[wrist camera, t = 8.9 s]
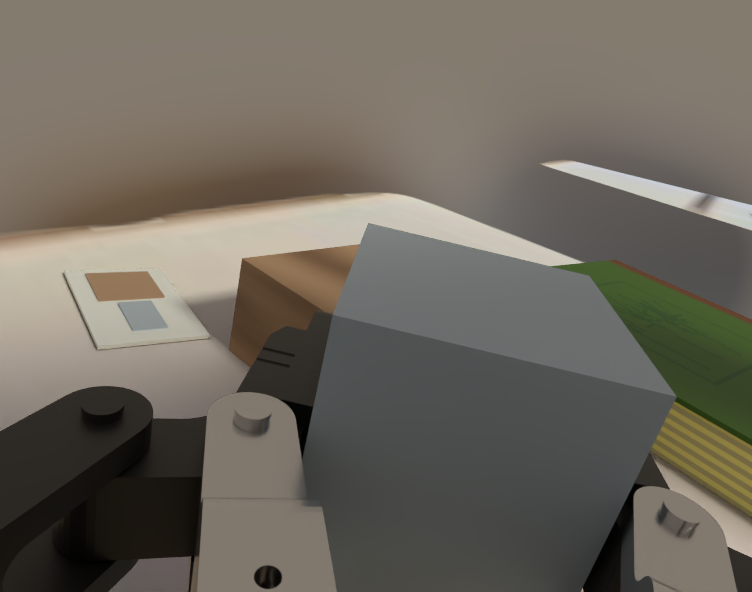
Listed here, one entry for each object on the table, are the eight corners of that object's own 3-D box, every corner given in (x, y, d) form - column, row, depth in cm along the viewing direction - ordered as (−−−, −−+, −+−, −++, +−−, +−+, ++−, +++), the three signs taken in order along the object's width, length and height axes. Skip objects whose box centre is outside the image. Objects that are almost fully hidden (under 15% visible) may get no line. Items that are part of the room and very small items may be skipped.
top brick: (465, 594, 15) (588, 275, 12) (478, 799, 11) (676, 396, 7) (295, 554, 15) (368, 223, 12) (242, 742, 11) (331, 314, 7)
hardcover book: (969, 487, 33) (1011, 433, 32) (916, 644, 21) (980, 569, 20) (591, 297, 50) (607, 256, 48) (439, 323, 38) (455, 270, 36)
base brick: (368, 318, 35) (387, 240, 34) (508, 403, 30) (540, 316, 28) (228, 354, 28) (242, 258, 26) (377, 477, 22) (409, 366, 21)
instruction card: (160, 271, 34) (160, 266, 34) (209, 338, 28) (209, 333, 28) (63, 274, 31) (64, 269, 31) (97, 349, 25) (97, 343, 25)
